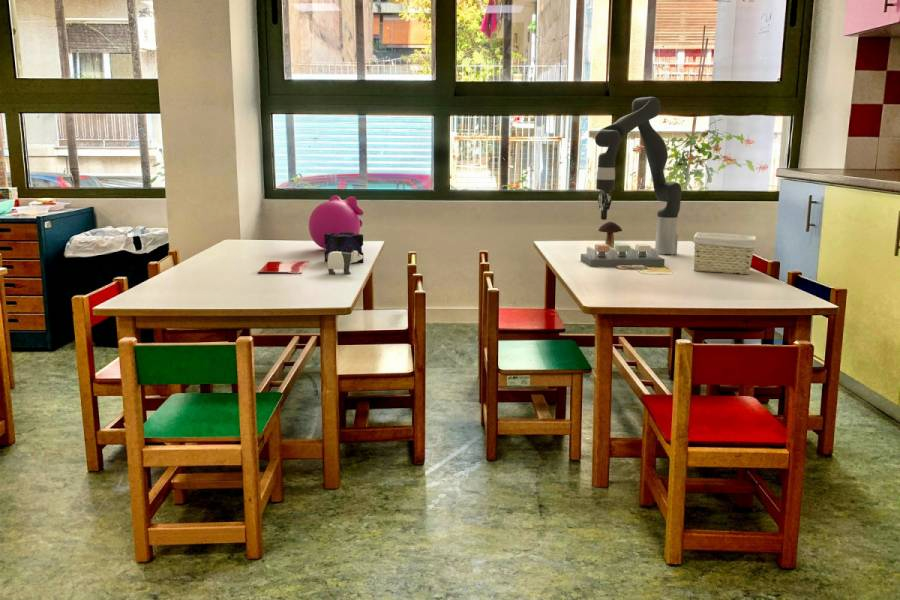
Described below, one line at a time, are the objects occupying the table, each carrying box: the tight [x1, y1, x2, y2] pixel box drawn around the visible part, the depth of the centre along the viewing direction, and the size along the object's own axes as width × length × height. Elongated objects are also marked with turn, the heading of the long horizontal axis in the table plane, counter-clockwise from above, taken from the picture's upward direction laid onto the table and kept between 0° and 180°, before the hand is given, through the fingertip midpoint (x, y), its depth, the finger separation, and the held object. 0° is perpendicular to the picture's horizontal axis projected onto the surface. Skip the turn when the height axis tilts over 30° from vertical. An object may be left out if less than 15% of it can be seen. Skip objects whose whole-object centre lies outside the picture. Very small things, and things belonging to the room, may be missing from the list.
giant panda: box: [326, 250, 364, 276], centre depth 301 cm, size 15×6×10 cm, turn 101°
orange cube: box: [594, 243, 610, 256], centre depth 332 cm, size 5×5×5 cm
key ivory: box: [634, 243, 652, 256], centre depth 334 cm, size 5×5×5 cm
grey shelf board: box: [580, 246, 666, 268], centre depth 334 cm, size 32×16×6 cm, turn 96°
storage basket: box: [693, 231, 757, 275], centre depth 317 cm, size 24×16×15 cm
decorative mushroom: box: [597, 221, 623, 254], centre depth 360 cm, size 11×11×15 cm
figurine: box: [308, 194, 364, 250], centre depth 360 cm, size 23×24×25 cm
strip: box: [615, 265, 648, 270], centre depth 322 cm, size 12×4×1 cm, turn 96°
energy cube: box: [324, 232, 364, 264], centre depth 328 cm, size 12×12×12 cm
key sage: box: [614, 243, 631, 256], centre depth 333 cm, size 5×5×5 cm
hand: (603, 219), depth 330 cm, fingers closed
